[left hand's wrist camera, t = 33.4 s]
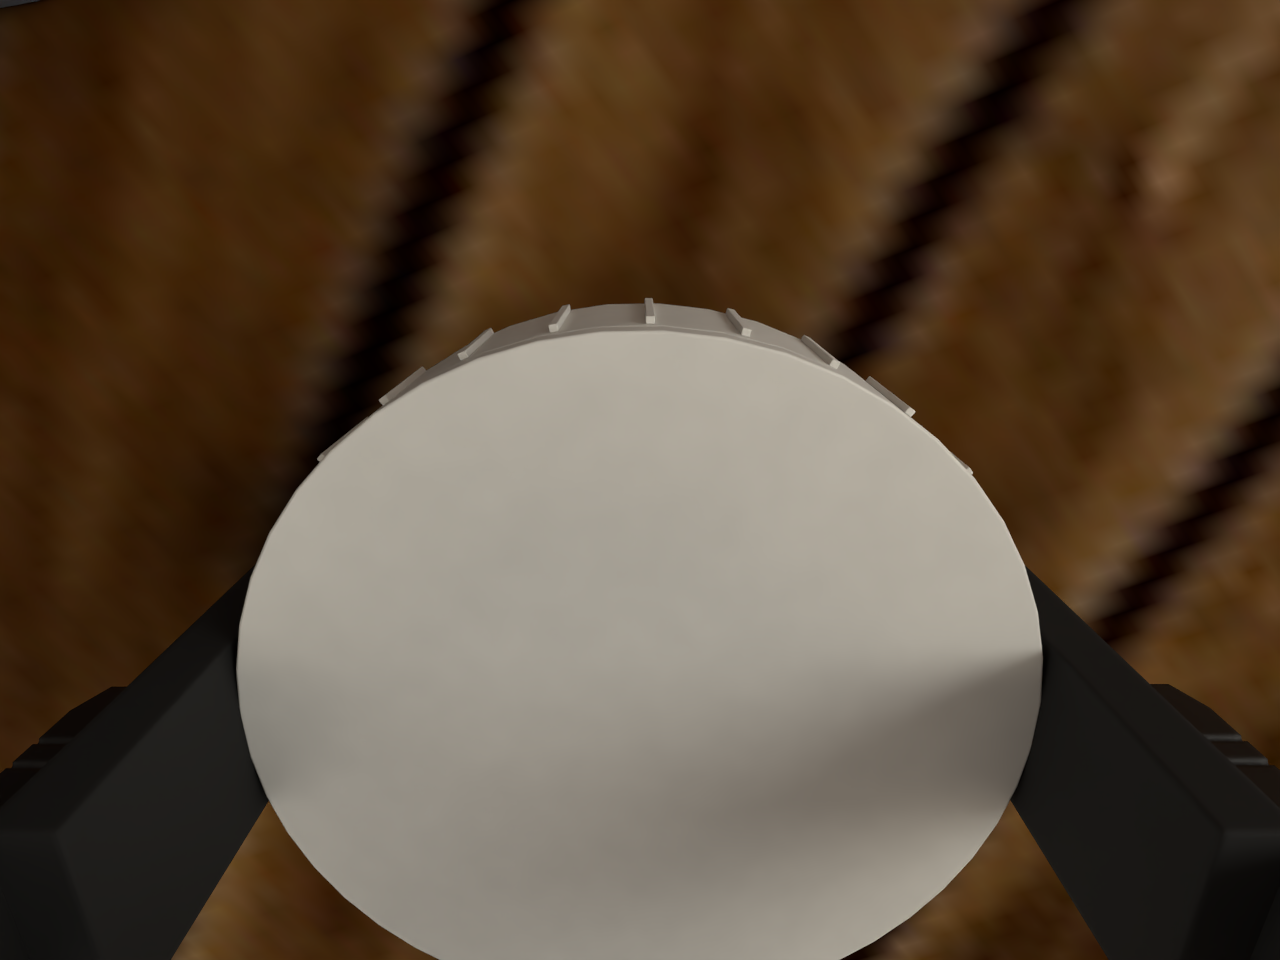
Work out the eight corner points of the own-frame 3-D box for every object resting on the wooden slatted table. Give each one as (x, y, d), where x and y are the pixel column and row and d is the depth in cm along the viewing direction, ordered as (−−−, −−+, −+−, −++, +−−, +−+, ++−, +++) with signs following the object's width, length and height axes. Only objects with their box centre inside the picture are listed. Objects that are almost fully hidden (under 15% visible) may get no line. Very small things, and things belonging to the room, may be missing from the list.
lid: (222, 332, 11) (113, 367, 8) (1003, 266, 10) (1102, 284, 8) (379, 900, 14) (332, 1026, 12) (953, 864, 14) (1011, 987, 12)
